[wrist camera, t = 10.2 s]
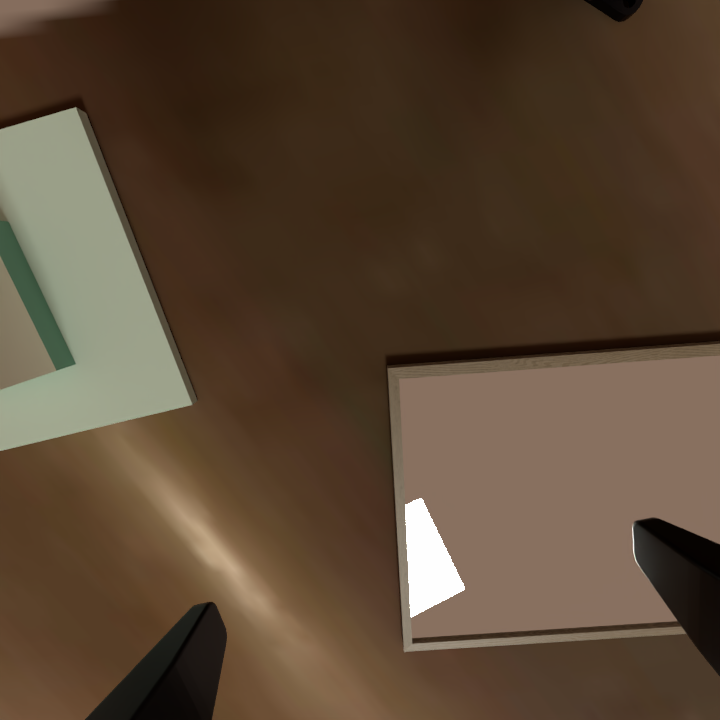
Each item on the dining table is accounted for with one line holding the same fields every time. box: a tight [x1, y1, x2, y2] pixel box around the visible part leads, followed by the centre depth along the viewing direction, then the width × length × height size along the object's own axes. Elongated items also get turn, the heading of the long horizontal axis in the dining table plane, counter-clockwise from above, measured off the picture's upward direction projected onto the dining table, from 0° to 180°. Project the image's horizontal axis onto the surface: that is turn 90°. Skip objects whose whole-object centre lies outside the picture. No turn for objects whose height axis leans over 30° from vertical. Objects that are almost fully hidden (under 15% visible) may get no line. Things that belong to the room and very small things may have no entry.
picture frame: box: [387, 341, 720, 652], centre depth 21 cm, size 19×1×28 cm
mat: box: [0, 107, 197, 451], centre depth 18 cm, size 15×14×1 cm
